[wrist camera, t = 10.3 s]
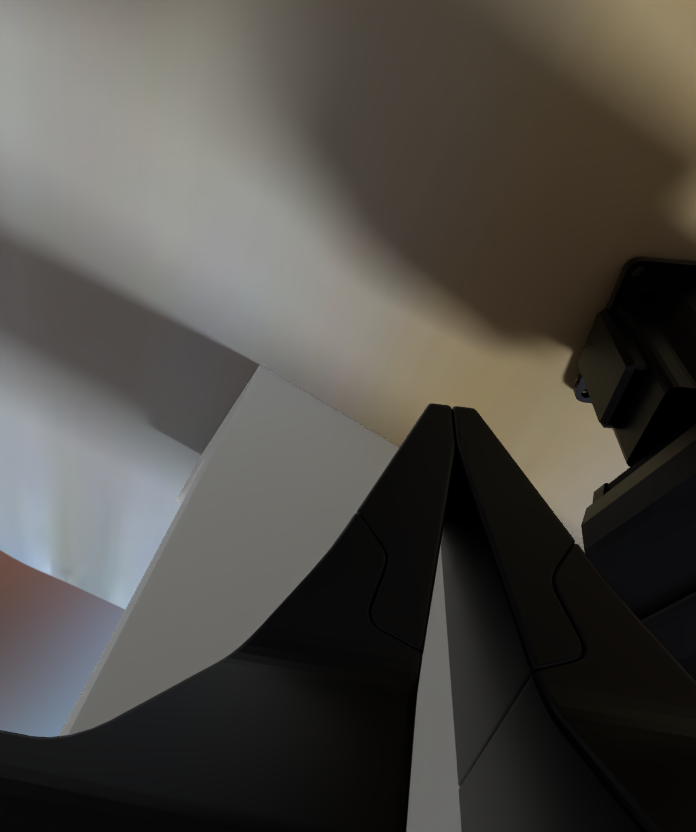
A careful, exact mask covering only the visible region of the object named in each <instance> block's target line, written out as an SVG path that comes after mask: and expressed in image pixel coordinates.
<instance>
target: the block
mask: <svg viewBox="0 0 696 832" xmlns="http://www.w3.org/2000/svg"><path fill="white" fill-rule="evenodd" d="M398 449H399V447H398V446H396V445H394V444H392V443H391V442H389V441H387V440H386V439H384V438H382V437H381V436H379V435H377V434H376V433H374V432H372V431H371V430H369V429H367V428H366V427H364V426H362V425H361V424H359V423H357V422H356V421H354V420H352V419H350V418H349V417H347V416H345V415H344V414H342V413H340V412H339V411H337V410H335V409H334V408H332V407H330V406H329V405H327V404H325V403H324V402H322V401H320V400H319V399H317V398H315V397H314V396H312V395H310V394H308V393H307V392H305V391H303V390H302V389H300V388H298V387H297V386H295V385H293V384H292V383H290V382H288V381H287V380H285V379H283V378H282V377H280V376H278V375H277V374H275V373H273V372H271V371H270V370H268V369H266V368H265V367H263V366H261V365H259V366H258V368H257V370H256V371H255V373H254V374H253V376H252V377H251V379H250V380H249V382H248V383H247V385H246V387H245V388H244V390H243V391H242V393H241V394H240V396H239V397H238V399H237V400H236V402H235V404H234V405H233V407H232V408H231V410H230V411H229V413H228V414H227V416H226V417H225V419H224V421H223V422H222V424H221V425H220V427H219V428H218V430H217V431H216V433H215V434H214V436H213V438H212V439H211V441H210V442H209V444H208V445H207V447H206V448H205V450H204V451H203V453H202V455H201V456H200V458H199V460H198V462H197V464H196V466H195V468H194V469H193V471H192V473H191V475H190V477H189V478H188V480H187V483H186V484H185V486H184V488H183V489H182V491H181V493H180V495H179V497H178V499H177V500H178V501H180V502H182V504H181V506H180V508H179V510H178V512H177V514H176V516H175V518H174V519H173V521H172V523H171V525H170V527H169V529H168V531H167V533H166V535H165V536H164V538H163V540H162V542H161V544H160V546H159V548H158V550H157V552H156V553H155V555H154V557H153V559H152V561H151V563H150V565H149V567H148V569H147V570H146V572H145V574H144V576H143V578H142V580H141V582H140V584H139V586H138V587H137V589H136V591H135V593H134V595H133V597H132V599H131V601H130V602H129V604H128V606H127V608H126V610H125V612H124V614H123V616H122V618H121V620H120V621H119V623H118V625H117V627H116V629H115V631H114V633H113V635H112V636H111V638H110V640H109V642H108V644H107V646H106V648H105V650H104V652H103V654H102V655H101V657H100V659H99V661H98V663H97V665H96V667H95V669H94V670H93V672H92V674H91V676H90V678H89V680H88V682H87V684H86V686H85V688H84V689H83V691H82V693H81V695H80V697H79V699H78V701H77V703H76V704H75V706H74V708H73V710H72V712H71V714H70V716H69V718H68V719H67V721H66V723H65V725H64V727H63V729H62V731H61V733H60V735H59V736H64V735H71V734H75V733H78V732H82V731H85V730H88V729H92V728H94V727H96V726H98V725H101V724H103V723H105V722H107V721H110V720H112V719H113V718H115V717H117V716H119V715H121V714H123V713H124V712H126V711H128V710H130V709H132V708H134V707H135V706H137V705H139V704H141V703H143V702H145V701H147V700H148V699H150V698H152V697H154V696H156V695H158V694H159V693H161V692H163V691H165V690H167V689H169V688H170V687H172V686H174V685H176V684H178V683H180V682H182V681H183V680H185V679H187V678H189V677H191V676H193V675H194V674H196V673H198V672H200V671H202V670H204V669H206V668H207V667H209V666H211V665H213V664H215V663H217V662H218V661H220V660H222V659H223V658H225V657H226V656H228V655H229V654H231V653H232V652H233V651H235V650H236V649H237V648H238V647H239V646H241V645H242V644H243V643H244V642H245V641H246V640H247V639H248V638H249V637H250V636H251V635H252V634H253V633H254V632H255V631H256V630H257V629H258V628H259V627H260V626H261V625H262V624H263V623H264V622H265V621H266V619H267V618H268V617H269V616H270V615H271V614H272V613H273V612H274V611H275V610H276V609H277V607H278V606H279V605H280V604H281V603H282V602H283V601H284V600H285V599H286V598H287V597H288V595H289V594H290V593H291V592H292V591H293V590H294V589H295V588H296V587H297V586H298V585H299V583H300V582H301V581H302V580H303V579H304V578H305V577H306V576H307V575H308V574H309V573H310V571H311V570H312V569H313V568H314V567H315V566H316V564H317V563H318V562H319V561H320V560H321V559H322V557H323V556H324V555H325V554H326V553H327V552H328V550H329V549H330V548H331V546H332V545H333V544H334V542H335V541H336V540H337V538H338V537H339V536H340V534H341V533H342V531H343V530H344V529H345V527H346V526H347V524H348V523H349V521H350V520H351V518H352V517H353V515H354V514H355V513H357V510H358V508H359V507H360V506H361V504H362V503H363V501H364V500H365V498H366V497H367V495H368V494H369V492H370V491H371V489H372V488H373V486H374V485H375V483H376V482H377V480H378V479H379V477H380V476H381V474H382V473H383V471H384V470H385V468H386V467H387V465H388V464H389V462H390V461H391V459H392V458H393V456H394V455H395V454H396V452H397V451H398ZM459 788H460V786H459V785H458V774H457V760H456V747H455V733H454V719H453V706H452V692H451V679H450V665H449V651H448V638H447V624H446V610H445V597H444V583H443V569H442V556H441V545H440V552H439V558H438V564H437V571H436V577H435V583H434V589H433V596H432V602H431V608H430V615H429V621H428V627H427V633H426V640H425V646H424V652H423V656H422V665H421V672H420V679H419V686H418V694H417V704H416V716H415V728H414V741H413V754H412V766H411V779H410V792H409V804H408V817H407V830H406V832H462V830H461V817H460V803H459Z"/></svg>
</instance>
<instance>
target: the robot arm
mask: <svg viewBox="0 0 696 832" xmlns="http://www.w3.org/2000/svg"><path fill="white" fill-rule="evenodd" d="M641 267H643V268H644V271H643V272H642V273H641V274H640V275H638V276H632V273H633V272H634V270H636V269H637V268H641ZM578 367H579V369H580V373H579V376H578V378H577V380H576V383H575V385H574V393H575V396H576V399H577V400H579V401H581V402H586V403H592V404H593V407H594V410H595V412H596V415H597V418H598V420H599V422H600V423H601V424H602V426H603V427H604V428H612V429H613V430H614V433H615V435H616V438H617V440H618V443H619V445H620V448H621V450H622V453H623V455H624V458H625V460H626V463H627V464H628V466H630V468H629V469H627V470H626V471H625V472H624V473H622V474H621V475H620V476H618V477H617V478H616V479H615V480H613V481H612V482H611V483H610V484H608V483H605V484H603V485H602V486H601V487H600V488H598V489H597V490H596V491H595V492H594V496H593V504H592V505H590V506H589V507H588V508H587V509H586V512H585V515H584V518H583V522H582V525H581V527H582V535H583V543H584V550H585V553H584V552H583V550H582V549H581V548H580V546H579V545H578V544H574V543H575V540H574V539H573V537H572V536H571V535H570V533H569V532H568V531H567V530H566V528H565V527H564V526H563V524H562V523H561V522H560V520H559V519H558V518H557V516H556V515H555V514H554V512H553V511H552V510H551V508H550V507H549V506H548V504H547V503H546V502H545V500H544V499H543V498H542V497H541V495H540V494H539V493H538V491H537V490H536V489H535V487H534V486H533V485H532V483H531V482H530V481H529V479H528V478H527V477H526V475H525V474H524V473H523V471H522V470H521V469H520V467H519V466H518V465H517V463H516V462H515V461H514V460H513V458H512V457H511V456H510V454H509V453H508V452H507V450H506V449H505V448H504V446H503V445H502V444H501V442H500V441H499V440H498V438H497V437H496V436H495V434H494V433H493V432H492V430H491V429H490V428H489V426H488V425H487V424H486V423H485V421H484V420H483V419H482V417H481V416H480V415H479V413H478V412H477V411H476V410H475V409H473V408H467V407H458V406H455V407H453V408H452V409H451V407H450V406H448V405H441V404H433V403H432V404H429V405H428V406H427V407H426V409H425V410H424V412H423V413H422V415H421V416H420V418H419V419H418V421H417V422H416V424H415V425H414V427H413V428H412V430H411V431H410V433H409V434H408V436H407V437H406V439H405V440H404V442H403V443H402V445H401V446H400V448H399V449H398V451H397V452H396V454H395V455H394V456H393V458H392V459H391V461H390V462H389V464H388V465H387V467H386V468H385V470H384V471H383V473H382V474H381V476H380V477H379V479H378V480H377V482H376V483H375V485H374V486H373V488H372V489H371V491H370V492H369V494H368V495H367V497H366V498H365V500H364V501H363V503H362V504H361V506H360V507H359V508H358V510H357V513H355V514H354V515H353V517H352V518H351V520H350V521H349V523H348V524H347V526H346V527H345V529H344V530H343V531H342V533H341V534H340V536H339V537H338V538H337V540H336V541H335V542H334V544H333V545H332V546H331V548H330V549H329V550H328V552H327V553H326V554H325V555H324V556H323V557H322V559H321V560H320V561H319V562H318V563H317V564H316V566H315V567H314V568H313V569H312V570H311V571H310V573H309V574H308V575H307V576H306V577H305V578H304V579H303V580H302V581H301V582H300V583H299V585H298V586H297V587H296V588H295V589H294V590H293V591H292V592H291V593H290V594H289V595H288V597H287V598H286V599H285V600H284V601H283V602H282V603H281V604H280V605H279V606H278V607H277V609H276V610H275V611H274V612H273V613H272V614H271V615H270V616H269V617H268V618H267V619H266V621H265V622H264V623H263V624H262V625H261V626H260V627H259V628H258V629H257V630H256V631H255V632H254V633H253V634H252V635H251V636H250V637H249V638H248V639H247V640H246V641H245V642H244V643H243V644H242V645H241V646H239V647H238V648H237V649H236V650H235V651H233V652H232V653H231V654H229V655H228V656H226V657H225V658H223V659H222V660H220V661H218V662H217V663H215V664H213V665H211V666H209V667H207V668H206V669H204V670H202V671H200V672H198V673H196V674H194V675H193V676H191V677H189V678H187V679H185V680H183V681H182V682H180V683H178V684H176V685H174V686H172V687H170V688H169V689H167V690H165V691H163V692H161V693H159V694H158V695H156V696H154V697H152V698H150V699H148V700H147V701H145V702H143V703H141V704H139V705H137V706H135V707H134V708H132V709H130V710H128V711H126V712H124V713H123V714H121V715H119V716H117V717H115V718H113V719H112V720H110V721H107V722H105V723H103V724H101V725H98V726H96V727H94V728H92V729H88V730H85V731H82V732H78V733H75V734H71V735H64V736H57V737H35V736H28V735H23V734H18V733H12V732H7V731H2V730H0V832H406V830H407V817H408V804H409V792H410V779H411V766H412V754H413V741H414V728H415V716H416V704H417V694H418V686H419V679H420V672H421V665H422V656H423V652H424V646H425V640H426V633H427V627H428V621H429V615H430V608H431V602H432V596H433V589H434V583H435V577H436V571H437V564H438V558H439V552H440V545H441V556H442V569H443V583H444V597H445V610H446V624H447V638H448V651H449V665H450V679H451V692H452V706H453V719H454V733H455V747H456V760H457V774H458V785H459V786H460V788H459V803H460V817H461V830H462V832H696V261H687V260H675V259H664V258H653V257H635V258H633V259H630V260H629V261H628V262H627V263H626V264H625V265H624V267H623V268H622V271H621V273H620V276H619V278H618V280H617V283H616V285H615V288H614V290H613V293H612V295H611V298H610V300H609V302H608V305H607V307H606V308H604V309H603V310H602V311H600V312H599V313H598V314H597V316H596V319H595V321H594V324H593V326H592V329H591V331H590V334H589V336H588V339H587V341H586V344H585V346H584V349H583V351H582V354H581V356H580V359H579V361H578ZM585 389H587V391H588V392H585V393H583V392H582V391H583V390H585Z"/></svg>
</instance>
